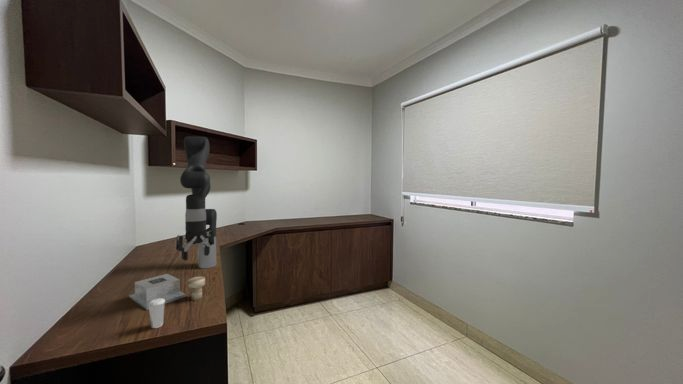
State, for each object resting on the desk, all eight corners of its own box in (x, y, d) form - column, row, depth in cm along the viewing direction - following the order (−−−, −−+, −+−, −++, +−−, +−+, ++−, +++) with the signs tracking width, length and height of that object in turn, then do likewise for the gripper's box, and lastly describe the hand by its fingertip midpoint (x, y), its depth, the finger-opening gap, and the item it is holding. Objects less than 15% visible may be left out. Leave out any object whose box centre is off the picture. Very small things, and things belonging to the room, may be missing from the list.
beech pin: (184, 298, 106) (184, 280, 106) (200, 293, 112) (200, 275, 111) (192, 303, 103) (192, 283, 102) (208, 297, 108) (208, 278, 108)
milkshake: (166, 319, 90) (166, 292, 90) (164, 327, 85) (163, 298, 85) (150, 323, 88) (150, 294, 88) (147, 331, 83) (147, 301, 83)
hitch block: (129, 297, 107) (129, 281, 106) (167, 286, 118) (166, 271, 118) (146, 310, 97) (146, 291, 96) (185, 296, 108) (185, 280, 108)
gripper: (208, 216, 114) (208, 252, 114) (172, 220, 102) (173, 260, 103) (217, 218, 110) (217, 255, 110) (181, 222, 98) (182, 263, 98)
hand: (196, 257), depth 106 cm, fingers open, 8 cm apart
